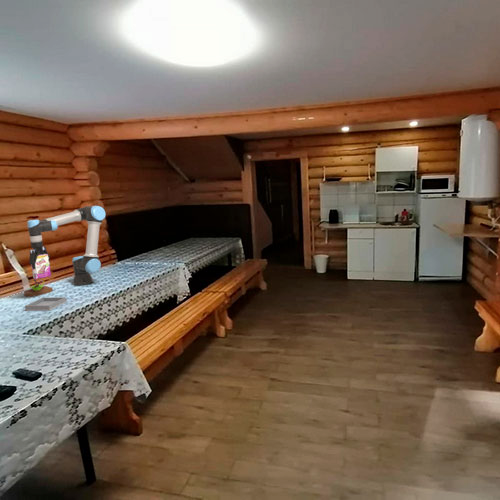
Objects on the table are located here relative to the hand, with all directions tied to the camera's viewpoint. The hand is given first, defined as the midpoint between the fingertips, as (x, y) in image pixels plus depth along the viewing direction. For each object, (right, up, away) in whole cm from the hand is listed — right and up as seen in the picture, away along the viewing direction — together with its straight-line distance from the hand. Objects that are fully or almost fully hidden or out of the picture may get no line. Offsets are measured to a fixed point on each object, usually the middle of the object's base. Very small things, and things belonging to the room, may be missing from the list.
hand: (41, 271), depth 278 cm
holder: (+12, -23, -16) cm, 31 cm away
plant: (-15, -19, +22) cm, 32 cm away
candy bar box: (0, -5, +1) cm, 5 cm away
